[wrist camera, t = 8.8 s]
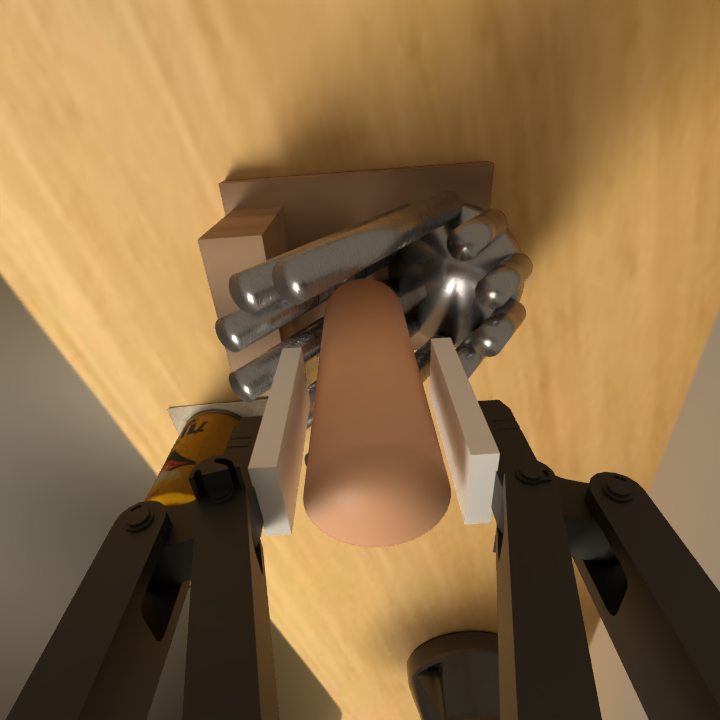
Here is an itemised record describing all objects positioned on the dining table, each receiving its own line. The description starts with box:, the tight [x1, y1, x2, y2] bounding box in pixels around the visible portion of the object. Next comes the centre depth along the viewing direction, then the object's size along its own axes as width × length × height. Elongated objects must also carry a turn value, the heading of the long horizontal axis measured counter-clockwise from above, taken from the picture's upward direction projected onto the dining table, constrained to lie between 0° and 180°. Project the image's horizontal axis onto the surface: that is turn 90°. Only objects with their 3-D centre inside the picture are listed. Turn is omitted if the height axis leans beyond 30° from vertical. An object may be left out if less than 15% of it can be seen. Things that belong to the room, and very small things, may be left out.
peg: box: [303, 279, 451, 547], centre depth 17 cm, size 4×4×12 cm
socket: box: [215, 190, 532, 466], centre depth 23 cm, size 10×16×15 cm, turn 94°
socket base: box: [198, 161, 494, 398], centre depth 25 cm, size 12×16×8 cm
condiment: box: [144, 399, 268, 588], centre depth 31 cm, size 7×8×12 cm
